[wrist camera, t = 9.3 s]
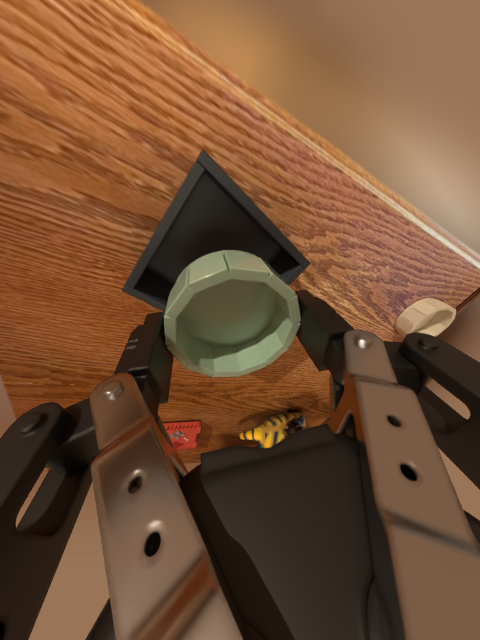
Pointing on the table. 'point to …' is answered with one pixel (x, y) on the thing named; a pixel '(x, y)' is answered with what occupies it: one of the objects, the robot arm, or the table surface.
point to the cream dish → (425, 317)
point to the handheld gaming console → (183, 434)
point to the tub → (208, 234)
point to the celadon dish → (230, 315)
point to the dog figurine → (275, 429)
